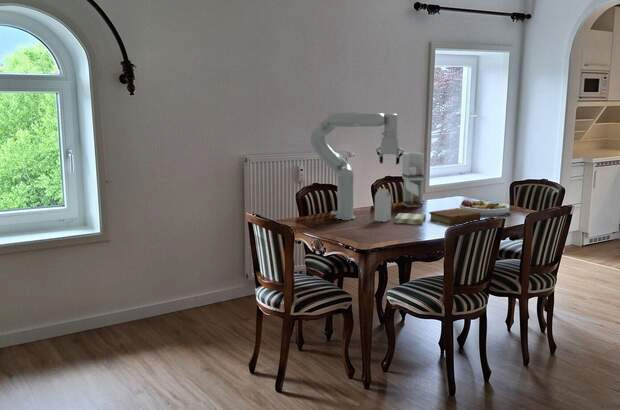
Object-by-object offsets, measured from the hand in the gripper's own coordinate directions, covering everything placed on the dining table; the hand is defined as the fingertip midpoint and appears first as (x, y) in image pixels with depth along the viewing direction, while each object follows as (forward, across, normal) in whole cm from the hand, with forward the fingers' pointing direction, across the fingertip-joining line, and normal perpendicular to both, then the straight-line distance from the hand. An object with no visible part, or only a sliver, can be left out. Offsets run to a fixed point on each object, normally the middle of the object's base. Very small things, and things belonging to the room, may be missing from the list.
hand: (389, 163), depth 363 cm
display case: (+33, +3, +49) cm, 59 cm away
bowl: (+32, +52, +40) cm, 73 cm away
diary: (+33, +39, +6) cm, 51 cm away
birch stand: (+33, +15, -3) cm, 36 cm away
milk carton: (+34, -1, -7) cm, 34 cm away
